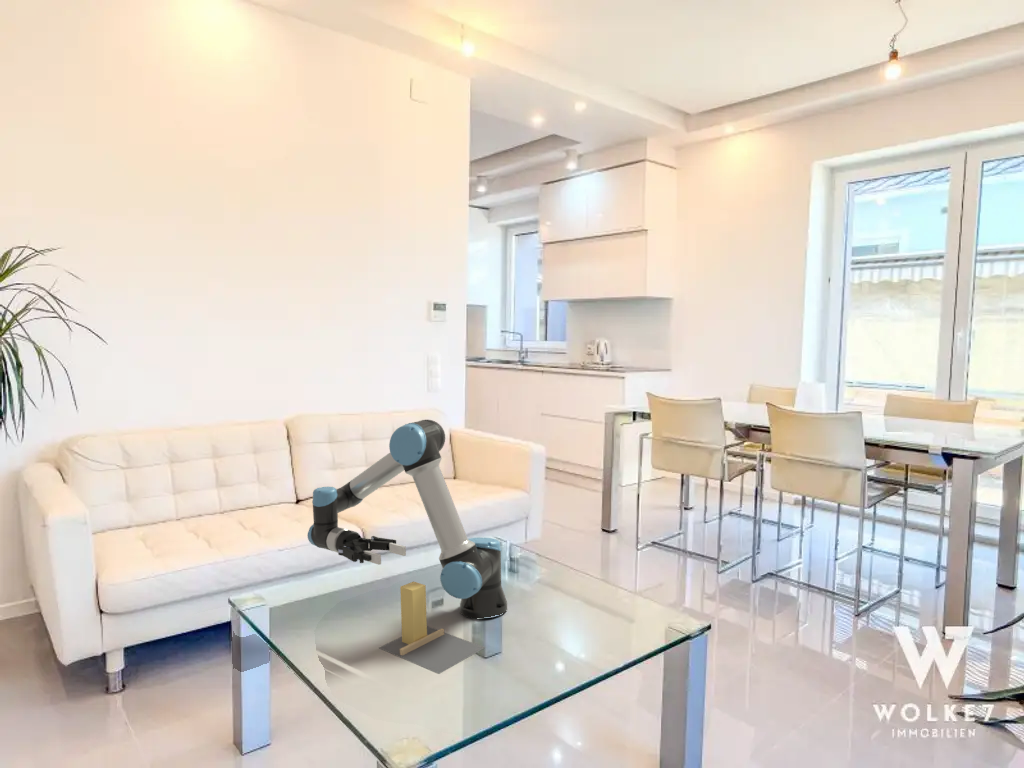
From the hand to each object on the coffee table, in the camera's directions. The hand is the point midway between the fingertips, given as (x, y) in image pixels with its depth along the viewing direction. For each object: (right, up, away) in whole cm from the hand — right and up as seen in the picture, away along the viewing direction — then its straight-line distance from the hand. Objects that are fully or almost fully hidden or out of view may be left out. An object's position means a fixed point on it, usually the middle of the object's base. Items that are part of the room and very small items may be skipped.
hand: (392, 555), depth 189 cm
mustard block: (+7, -23, -4) cm, 25 cm away
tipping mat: (+12, -24, -8) cm, 29 cm away
